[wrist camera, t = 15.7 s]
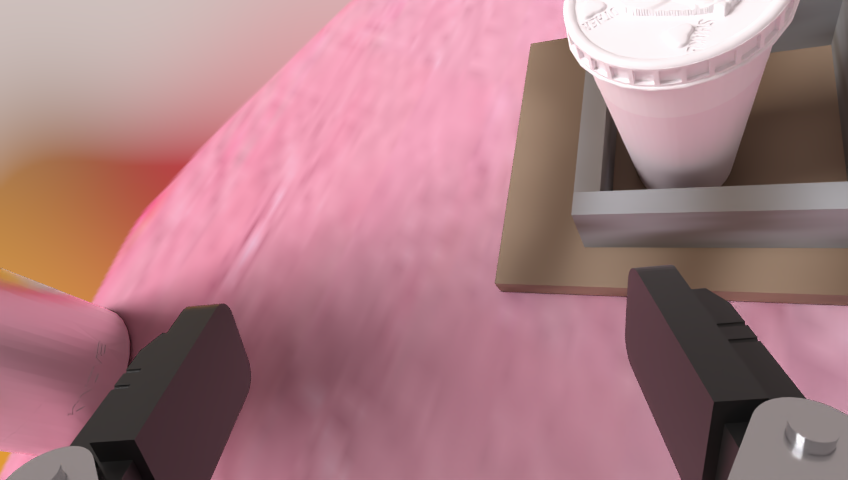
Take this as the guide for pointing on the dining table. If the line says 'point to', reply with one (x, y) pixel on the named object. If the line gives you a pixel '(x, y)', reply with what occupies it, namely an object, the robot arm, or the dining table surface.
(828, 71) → the collar board
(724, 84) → the smoothie
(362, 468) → the dining table surface
